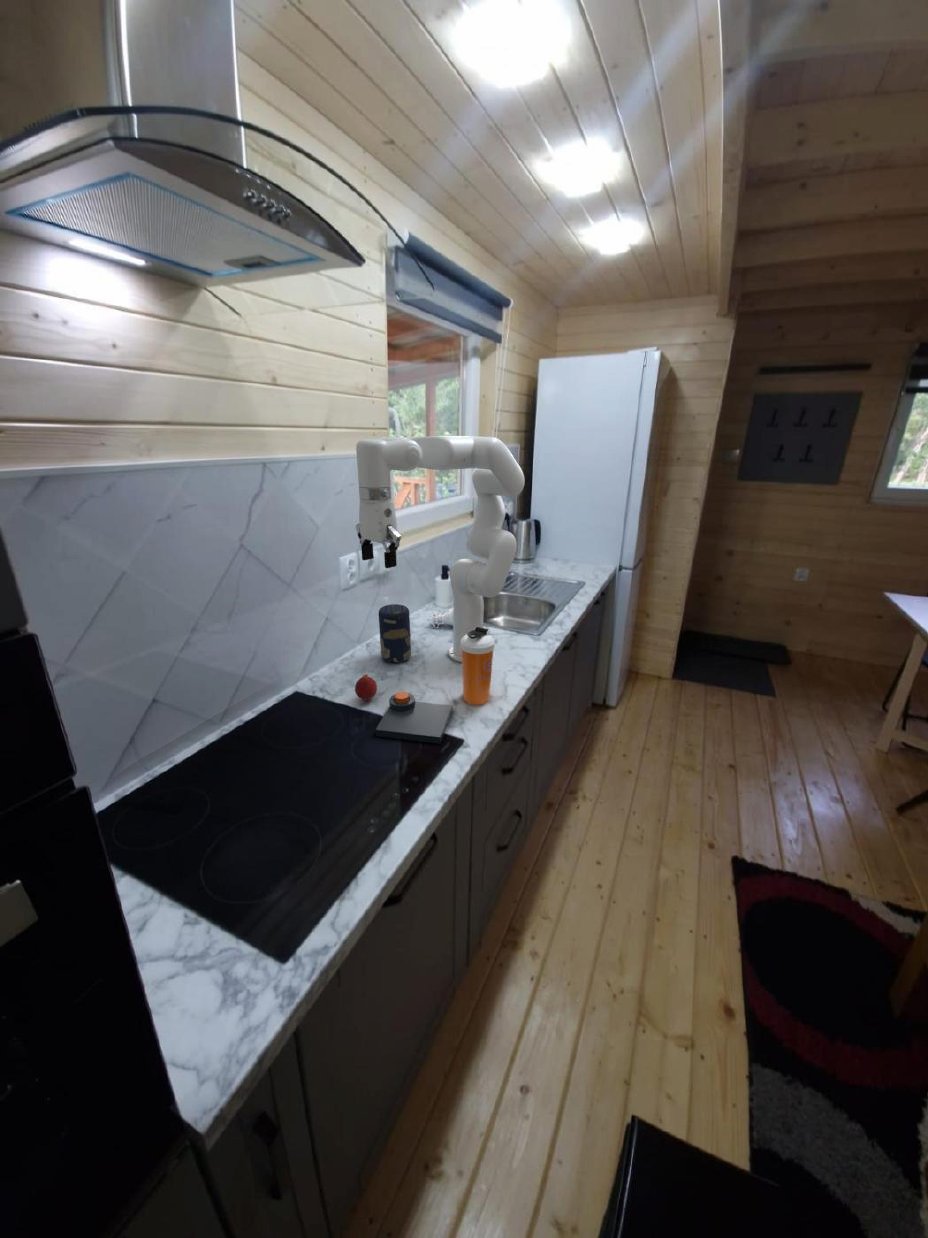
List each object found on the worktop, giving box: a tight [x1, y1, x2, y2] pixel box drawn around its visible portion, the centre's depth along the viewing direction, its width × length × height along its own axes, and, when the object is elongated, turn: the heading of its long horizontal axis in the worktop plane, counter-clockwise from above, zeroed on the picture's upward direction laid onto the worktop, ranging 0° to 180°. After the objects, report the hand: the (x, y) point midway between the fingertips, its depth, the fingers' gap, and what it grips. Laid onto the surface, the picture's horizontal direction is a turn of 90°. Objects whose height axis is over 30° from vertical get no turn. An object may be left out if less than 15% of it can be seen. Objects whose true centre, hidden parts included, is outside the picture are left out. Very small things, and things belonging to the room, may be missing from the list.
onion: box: [354, 673, 378, 702], centre depth 133 cm, size 6×6×8 cm
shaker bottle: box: [461, 627, 495, 706], centre depth 132 cm, size 9×9×20 cm
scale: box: [375, 692, 453, 745], centre depth 124 cm, size 15×16×4 cm
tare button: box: [394, 691, 410, 704], centre depth 128 cm, size 4×4×2 cm
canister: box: [378, 603, 412, 663], centre depth 155 cm, size 10×10×18 cm
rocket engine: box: [426, 607, 453, 629], centre depth 181 cm, size 12×12×18 cm
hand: (379, 563), depth 125 cm, fingers open, 9 cm apart
